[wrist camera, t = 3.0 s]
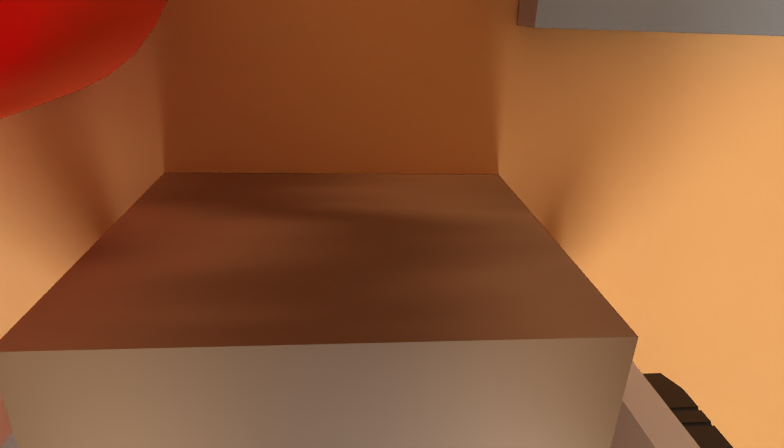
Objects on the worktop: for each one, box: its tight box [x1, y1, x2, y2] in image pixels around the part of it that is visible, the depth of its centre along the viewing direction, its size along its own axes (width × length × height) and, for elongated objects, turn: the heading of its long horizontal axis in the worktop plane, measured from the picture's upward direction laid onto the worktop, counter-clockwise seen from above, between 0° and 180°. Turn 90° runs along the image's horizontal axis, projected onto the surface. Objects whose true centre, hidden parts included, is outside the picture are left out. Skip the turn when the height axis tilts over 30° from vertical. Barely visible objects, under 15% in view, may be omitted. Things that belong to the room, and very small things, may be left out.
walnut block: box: [0, 173, 638, 448], centre depth 11 cm, size 8×8×7 cm
